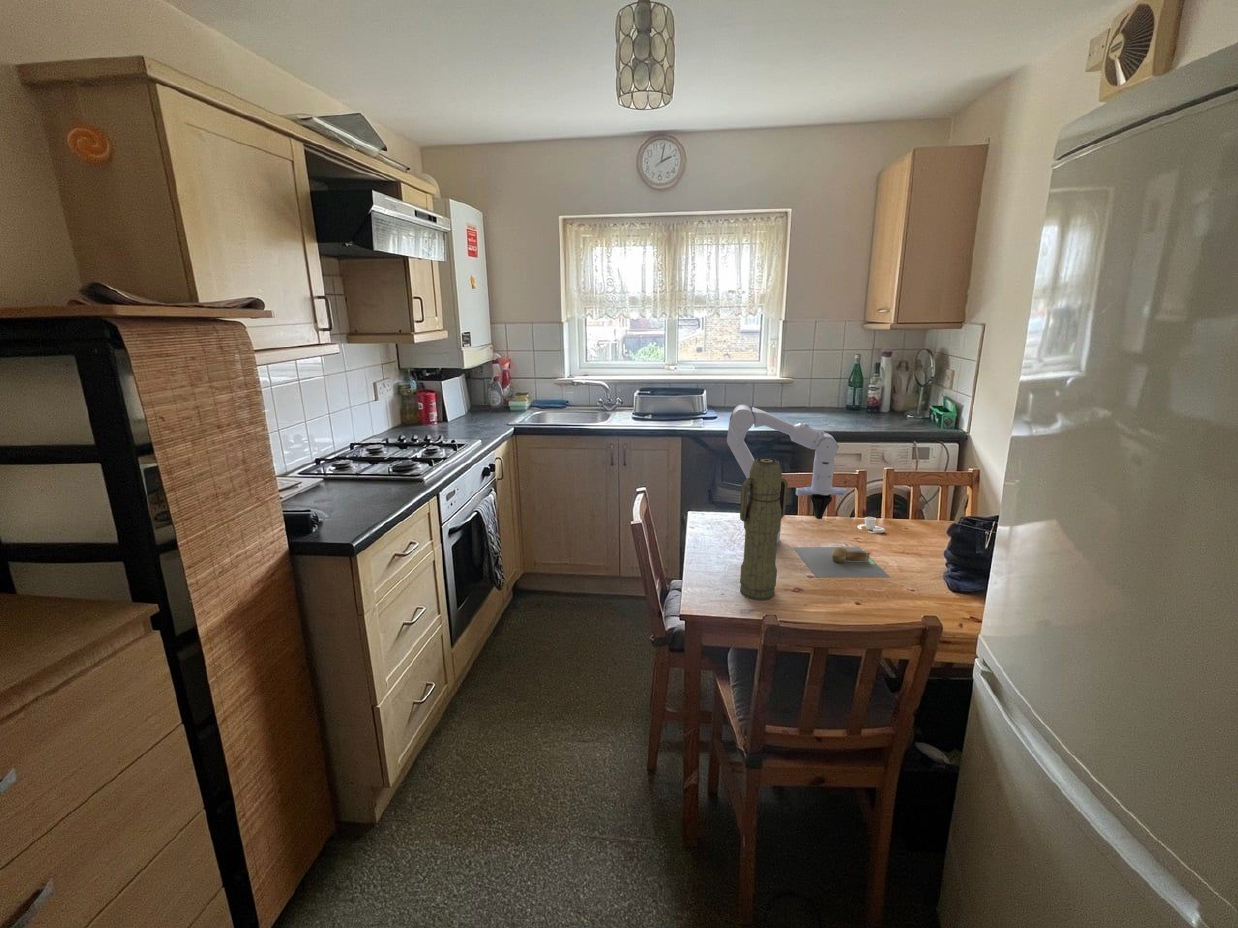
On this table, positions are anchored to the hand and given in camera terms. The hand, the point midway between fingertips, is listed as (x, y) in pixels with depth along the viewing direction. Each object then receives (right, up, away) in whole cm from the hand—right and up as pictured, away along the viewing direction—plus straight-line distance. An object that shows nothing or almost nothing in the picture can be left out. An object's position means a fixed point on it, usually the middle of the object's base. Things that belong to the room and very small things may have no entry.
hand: (818, 517), depth 173 cm
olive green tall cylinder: (-25, -17, -26) cm, 39 cm away
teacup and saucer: (+21, -7, +15) cm, 27 cm away
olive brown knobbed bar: (+5, -11, -11) cm, 16 cm away
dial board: (+2, -12, -10) cm, 16 cm away
